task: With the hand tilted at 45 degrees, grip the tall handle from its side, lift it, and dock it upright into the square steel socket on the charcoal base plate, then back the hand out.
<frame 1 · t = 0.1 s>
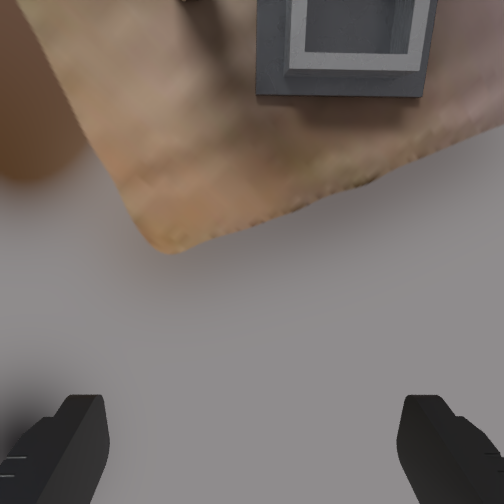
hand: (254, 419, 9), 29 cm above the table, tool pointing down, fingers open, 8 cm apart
socket: (344, 12, 31), on the table
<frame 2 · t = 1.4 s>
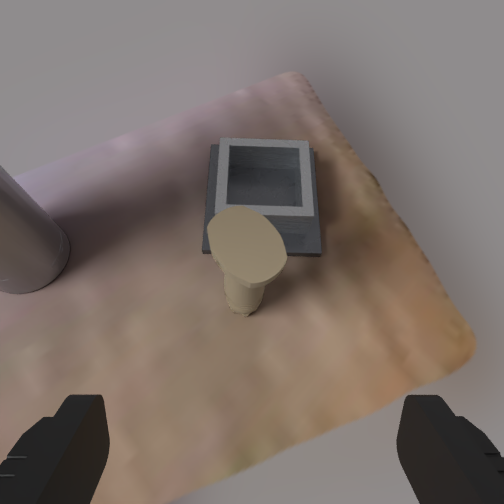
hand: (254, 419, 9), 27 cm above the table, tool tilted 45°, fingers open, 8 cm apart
handle: (243, 304, 38), on the table
socket: (261, 199, 44), on the table
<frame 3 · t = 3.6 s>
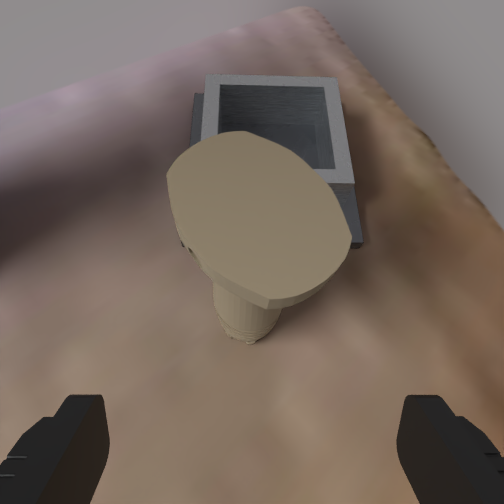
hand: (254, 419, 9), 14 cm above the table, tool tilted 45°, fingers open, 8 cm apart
handle: (246, 323, 24), on the table
socket: (268, 167, 30), on the table
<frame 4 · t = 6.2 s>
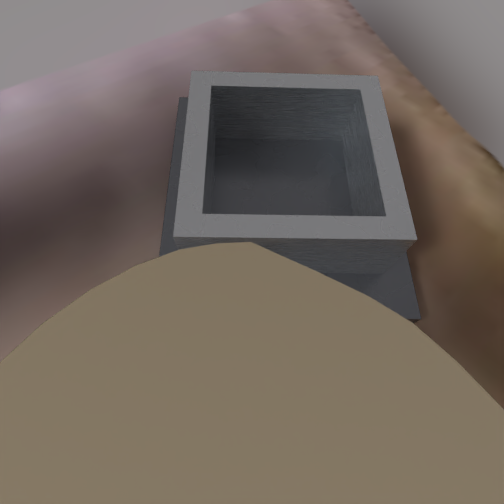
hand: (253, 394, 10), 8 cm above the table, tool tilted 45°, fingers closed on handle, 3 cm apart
handle: (248, 450, 16), on the table, touching gripper
socket: (279, 200, 22), on the table
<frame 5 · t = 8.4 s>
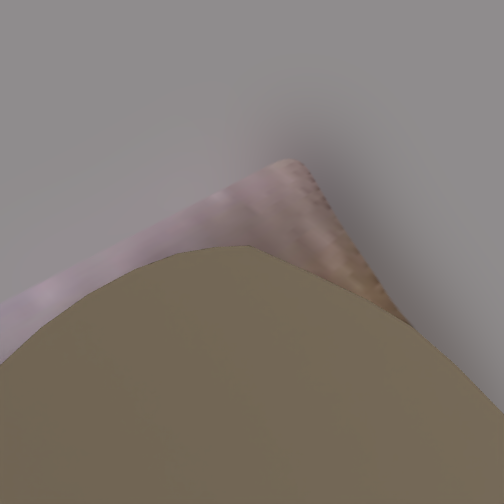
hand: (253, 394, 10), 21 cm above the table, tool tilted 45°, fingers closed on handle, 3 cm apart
handle: (248, 451, 16), point 13 cm above the table, touching gripper
when the fingers open (10 cm above the table, at t = 11.1 s): handle drops 1 cm, resting on socket.
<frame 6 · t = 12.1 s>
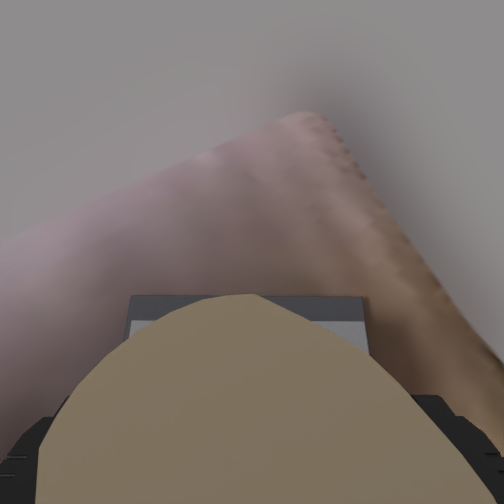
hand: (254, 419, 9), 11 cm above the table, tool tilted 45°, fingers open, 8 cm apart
handle: (248, 452, 17), point 1 cm above the table, touching socket
socket: (246, 446, 18), on the table
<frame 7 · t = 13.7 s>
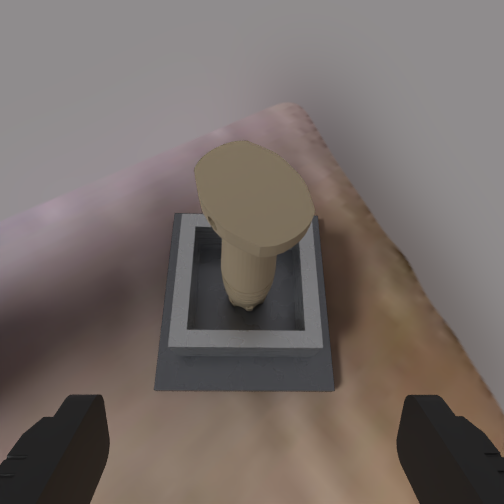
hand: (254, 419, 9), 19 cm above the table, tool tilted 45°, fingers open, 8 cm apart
handle: (246, 295, 30), point 1 cm above the table, touching socket
socket: (245, 295, 31), on the table
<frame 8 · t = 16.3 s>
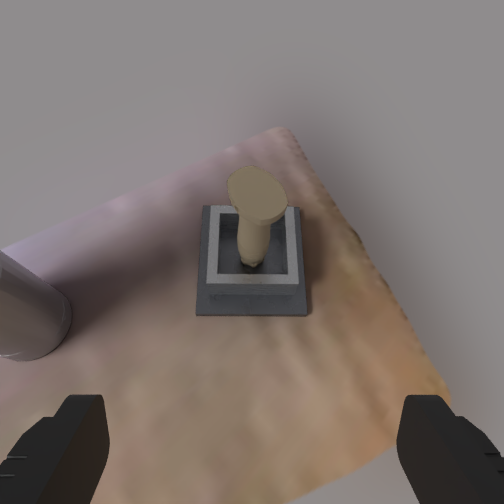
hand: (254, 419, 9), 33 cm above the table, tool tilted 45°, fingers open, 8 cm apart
handle: (251, 258, 46), point 1 cm above the table, touching socket
socket: (251, 259, 47), on the table
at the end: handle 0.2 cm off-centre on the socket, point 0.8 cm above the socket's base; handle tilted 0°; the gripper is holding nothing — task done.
